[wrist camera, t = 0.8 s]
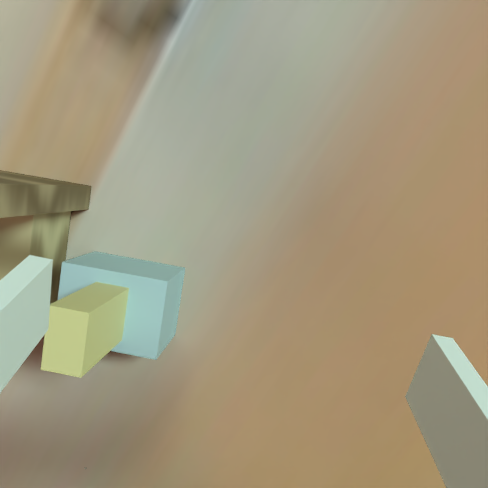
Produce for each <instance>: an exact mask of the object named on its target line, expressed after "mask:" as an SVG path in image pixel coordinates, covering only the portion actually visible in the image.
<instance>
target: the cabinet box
mask: <svg viewBox="0 0 488 488" xmlns="http://www.w3.org/2000/svg"><path fill="white" fill-rule="evenodd" d="M184 273H185V268H184V267H178V266H173V265H167V264H162V263H156V262H151V261H145V260H140V259H134V258H129V257H123V256H118V255H112V254H107V253H101V252H96V251H94V252H91V253H88V254H85V255H82V256H79V257H76V258H73V259H70V260H66V261H63V262H62V267H61V275H60V284H59V292H58V301H56V302H54V303H51V304H50V312H49V327H48V331H47V332H46V333H45V337H44V345H43V354H42V363H41V370H45V371H50V372H55V373H60V374H65V375H70V376H75V377H80V378H81V377H82V376H83V375H85V374H86V373H87V372H88V371H89V370H90V369H91V368H92V367H93V366H94V365H95V364H96V363H98V362H99V361H100V360H101V359H102V358H103V357H104V356H105V355H106V354H107V353H108V352H110V351H114V352H119V353H124V354H129V355H134V356H139V357H144V358H150V359H155V360H156V359H157V358H158V357H159V355H160V354H161V353H162V351H163V350H164V349H165V348H166V346H167V345H168V344H169V342H170V341H171V340H172V338H173V337H174V336H175V332H176V326H177V319H178V312H179V306H180V299H181V293H182V286H183V279H184Z"/></svg>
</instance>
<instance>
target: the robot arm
mask: <svg viewBox="0 0 488 488" xmlns="http://www.w3.org/2000/svg"><path fill="white" fill-rule="evenodd" d="M52 265H53V259H48V258H43V257H37V256H32V255H29V256H28V257H27V258H25V259H24V260H23V261H22V262H21V263H20V264H19V265H17V266H16V267H15V268H14V269H13V270H12V271H10V272H9V273H8V274H7V275H6V276H5V277H4V278H2V279H1V280H0V393H1V391H2V390H3V389H4V387H5V386H6V385H7V383H8V382H9V381H10V379H11V378H12V377H13V375H14V374H15V373H16V372H17V370H18V369H19V368H20V366H21V365H22V364H23V362H24V361H25V360H26V358H27V357H28V356H29V354H30V353H31V352H32V351H33V349H34V348H35V347H36V345H37V344H38V343H39V341H40V340H41V339H42V337H43V336H44V335H45V333H46V332H47V331H48V327H49V312H50V296H51V281H52ZM405 397H406V400H407V402H408V404H409V406H410V408H411V411H412V413H413V415H414V417H415V419H416V422H417V424H418V426H419V428H420V430H421V433H422V435H423V437H424V439H425V441H426V444H427V446H428V448H429V450H430V452H431V455H432V457H433V459H434V461H435V464H436V466H437V468H438V470H439V472H440V475H441V477H442V479H443V481H444V483H445V486H446V488H488V387H487V385H486V384H485V382H484V381H483V380H482V378H481V377H480V376H479V374H478V373H477V371H476V370H475V369H474V367H473V366H472V364H471V363H470V362H469V360H468V359H467V357H466V356H465V355H464V353H463V352H462V351H461V349H460V348H459V346H458V345H457V344H456V342H455V341H454V339H453V338H449V337H443V336H438V335H433V334H432V335H431V337H430V340H429V342H428V344H427V347H426V349H425V351H424V354H423V356H422V358H421V361H420V363H419V366H418V368H417V370H416V373H415V375H414V377H413V380H412V382H411V384H410V387H409V389H408V392H407V394H406V396H405Z"/></svg>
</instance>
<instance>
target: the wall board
mask: <svg viewBox="0 0 488 488" xmlns="http://www.w3.org/2000/svg"><path fill="white" fill-rule="evenodd" d="M90 193H91V186H88V185H82V184H76V183H71V182H65V181H59V180H53V179H47V178H41V177H36V176H30V175H24V174H18V173H12V172H7V171H1V170H0V280H1V279H2V278H4V277H5V276H6V275H7V274H8V273H9V272H10V271H12V270H13V269H14V268H15V267H16V266H17V265H19V264H20V263H21V262H22V261H23V260H24V259H25V258H27V257H28V256H29V255H32V256H37V257H43V258H48V259H53V265H52V281H51V296H50V304H51V303H54V302H56V301H58V292H59V284H60V275H61V267H62V262H63V261H65V259H66V250H67V242H68V233H69V225H70V216H71V211H77V210H87V209H89V201H90Z"/></svg>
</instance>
